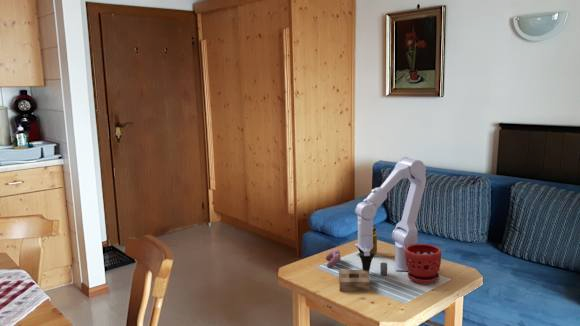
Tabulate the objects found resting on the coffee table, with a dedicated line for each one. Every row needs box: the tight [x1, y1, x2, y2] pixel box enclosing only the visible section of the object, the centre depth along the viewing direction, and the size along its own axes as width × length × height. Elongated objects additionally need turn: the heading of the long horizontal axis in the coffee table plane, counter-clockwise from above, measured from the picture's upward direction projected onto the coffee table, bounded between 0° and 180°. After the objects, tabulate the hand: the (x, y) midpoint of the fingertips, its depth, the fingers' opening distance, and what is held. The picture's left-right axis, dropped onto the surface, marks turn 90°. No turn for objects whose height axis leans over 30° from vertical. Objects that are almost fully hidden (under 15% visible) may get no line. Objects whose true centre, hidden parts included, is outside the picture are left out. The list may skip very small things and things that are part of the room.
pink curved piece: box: [325, 248, 342, 269], centre depth 200 cm, size 10×5×7 cm, turn 179°
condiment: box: [355, 225, 381, 258], centre depth 209 cm, size 7×8×12 cm
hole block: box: [338, 269, 371, 292], centre depth 179 cm, size 11×11×4 cm
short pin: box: [379, 262, 388, 277], centre depth 187 cm, size 3×3×4 cm
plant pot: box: [405, 243, 442, 284], centre depth 182 cm, size 13×13×12 cm
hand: (365, 267), depth 188 cm, fingers open, 7 cm apart
